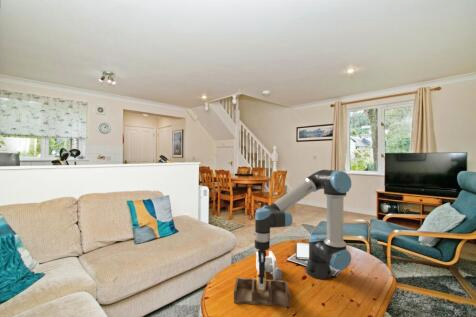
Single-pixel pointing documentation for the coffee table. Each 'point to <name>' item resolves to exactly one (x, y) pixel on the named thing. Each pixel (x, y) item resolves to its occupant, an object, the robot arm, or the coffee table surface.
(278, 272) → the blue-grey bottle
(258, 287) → the yellow knobbed cylinder
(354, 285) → the coffee table surface
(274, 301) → the brown compartment tray
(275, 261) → the cable organizer
